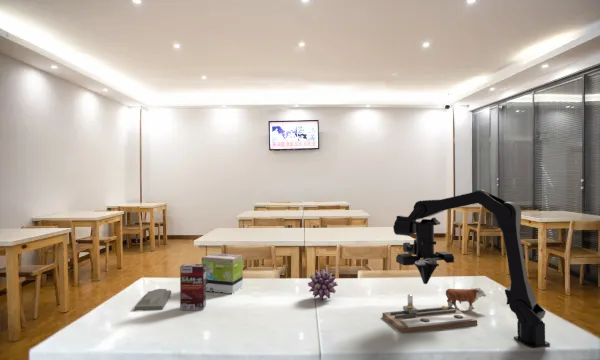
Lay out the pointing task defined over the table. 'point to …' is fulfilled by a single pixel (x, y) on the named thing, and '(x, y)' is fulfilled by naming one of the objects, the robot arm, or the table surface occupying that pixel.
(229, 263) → the tea box
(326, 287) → the purple spiky ball
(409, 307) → the sliding handle
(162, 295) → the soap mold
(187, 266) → the supplement box
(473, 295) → the bull figurine
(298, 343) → the table surface
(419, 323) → the brown flat wooden board
